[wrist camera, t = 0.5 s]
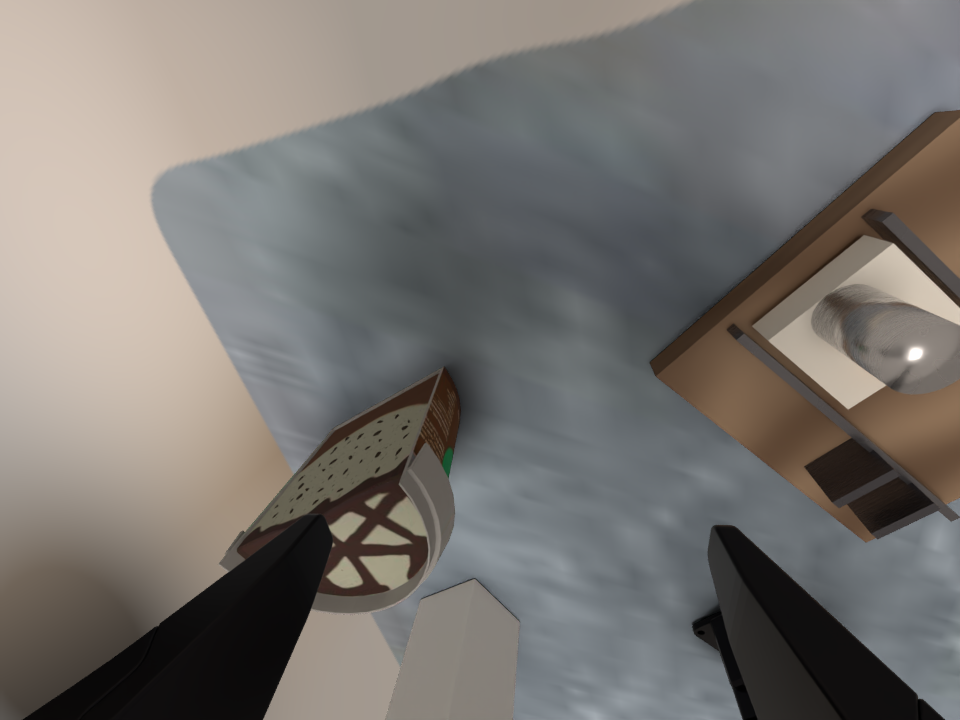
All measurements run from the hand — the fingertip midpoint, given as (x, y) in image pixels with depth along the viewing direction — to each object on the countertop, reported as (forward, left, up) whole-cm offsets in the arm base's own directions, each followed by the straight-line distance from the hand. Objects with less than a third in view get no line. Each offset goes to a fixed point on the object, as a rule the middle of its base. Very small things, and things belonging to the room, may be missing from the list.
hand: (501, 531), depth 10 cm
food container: (+1, +11, -14) cm, 18 cm away
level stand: (-14, -9, -14) cm, 22 cm away
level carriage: (-10, -9, -12) cm, 18 cm away
